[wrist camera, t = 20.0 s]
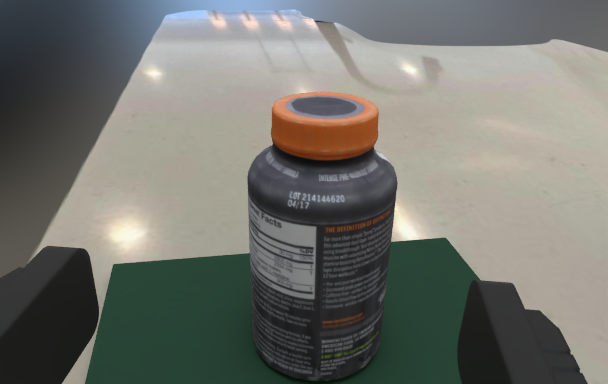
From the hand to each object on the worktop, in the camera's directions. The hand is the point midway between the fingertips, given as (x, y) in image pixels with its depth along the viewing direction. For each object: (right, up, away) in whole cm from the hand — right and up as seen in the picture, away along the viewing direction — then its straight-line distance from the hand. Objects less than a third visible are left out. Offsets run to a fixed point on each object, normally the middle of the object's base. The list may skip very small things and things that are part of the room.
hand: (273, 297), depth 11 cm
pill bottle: (+1, -5, +14) cm, 14 cm away
